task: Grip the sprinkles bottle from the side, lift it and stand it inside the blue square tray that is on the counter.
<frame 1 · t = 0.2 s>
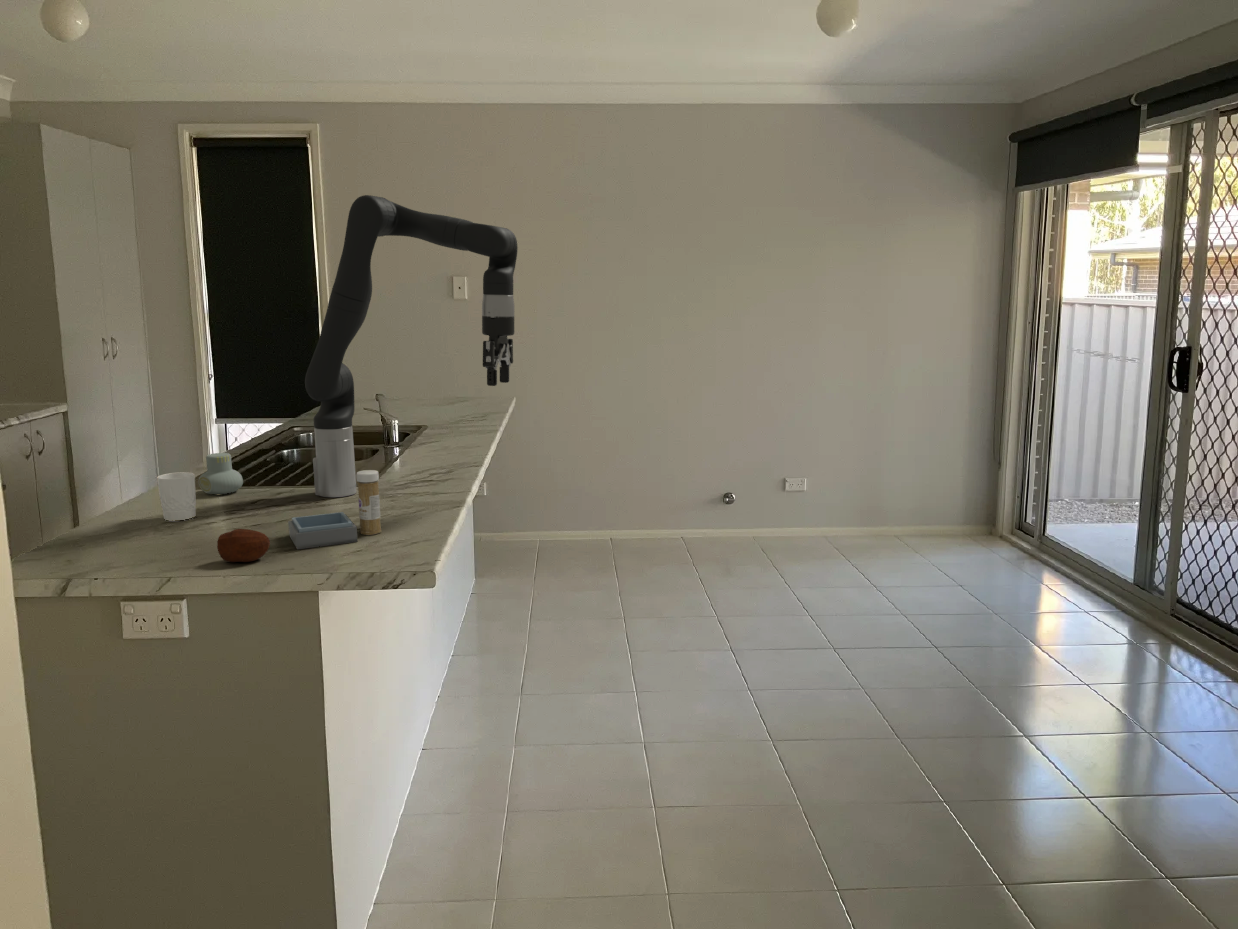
hand: (498, 384, 228), 29 cm above the counter, tool pointing down, fingers open, 8 cm apart
air freshener: (221, 493, 248), on the counter
sprinkles bottle: (371, 533, 207), on the counter
blue square tray: (322, 538, 203), on the counter
white cup: (180, 519, 222), on the counter
potato: (245, 561, 188), on the counter
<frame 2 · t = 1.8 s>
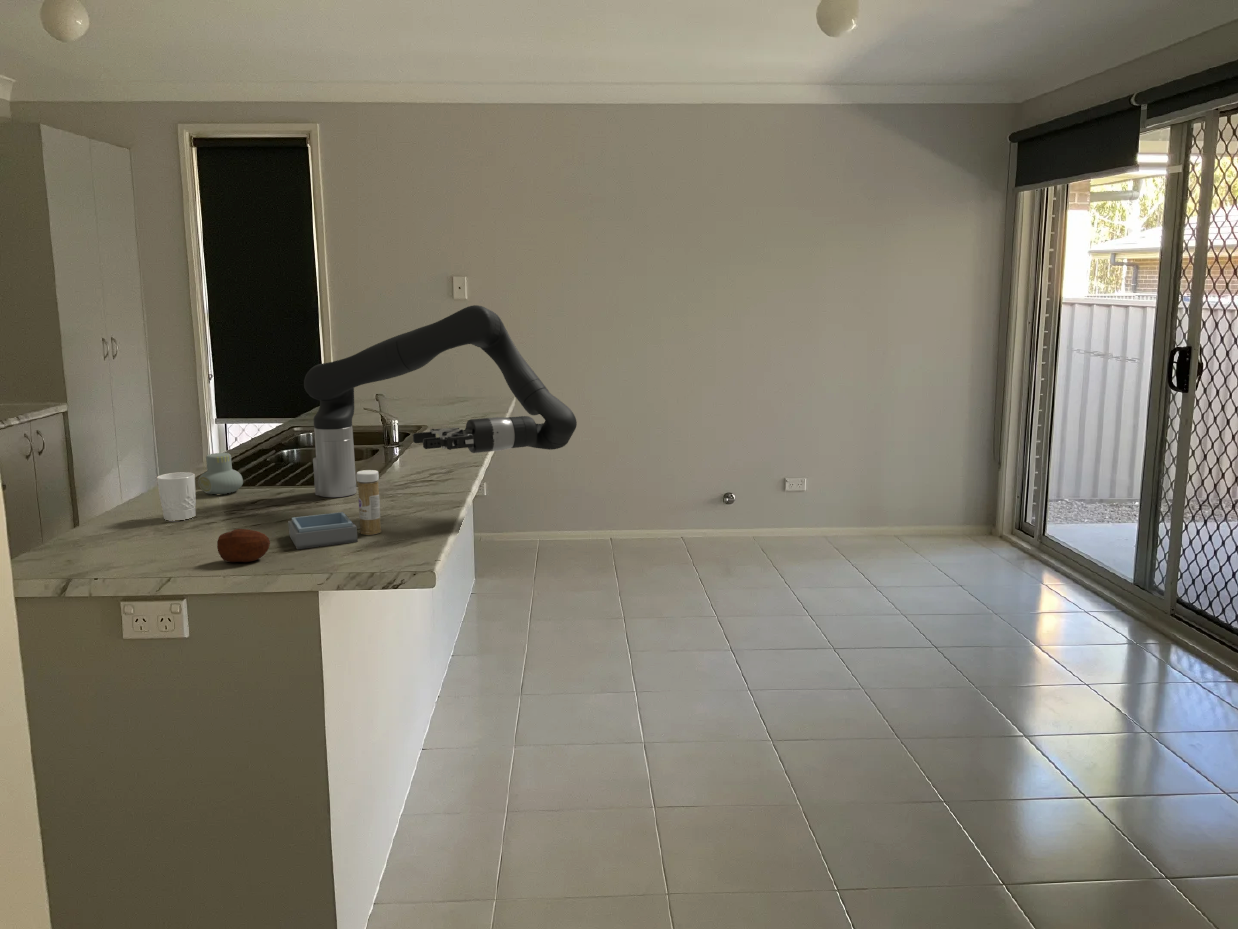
hand: (418, 441, 208), 19 cm above the counter, tool horizontal, fingers open, 8 cm apart
nothing on the counter moved.
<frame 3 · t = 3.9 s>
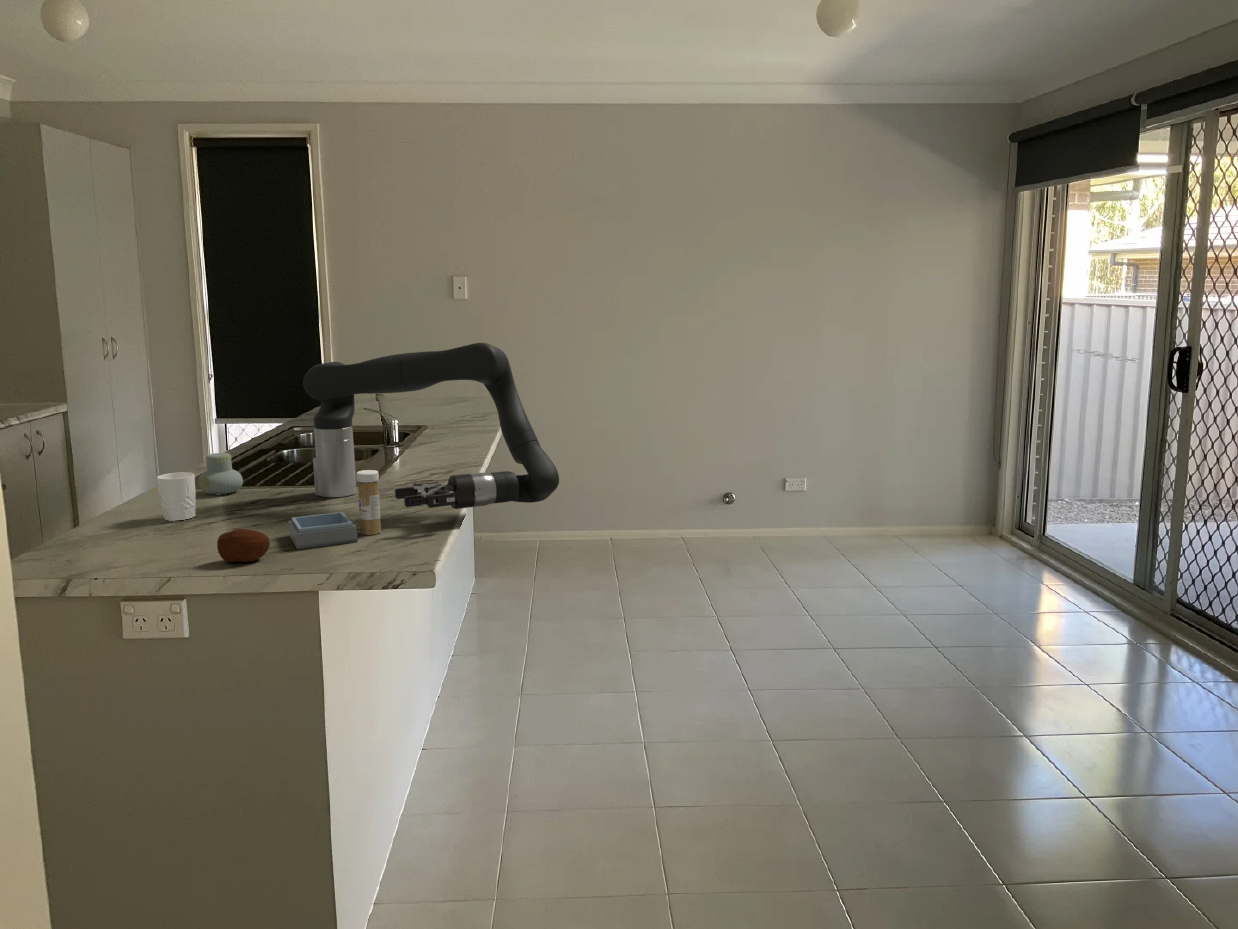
hand: (399, 497, 209), 7 cm above the counter, tool horizontal, fingers open, 8 cm apart
nothing on the counter moved.
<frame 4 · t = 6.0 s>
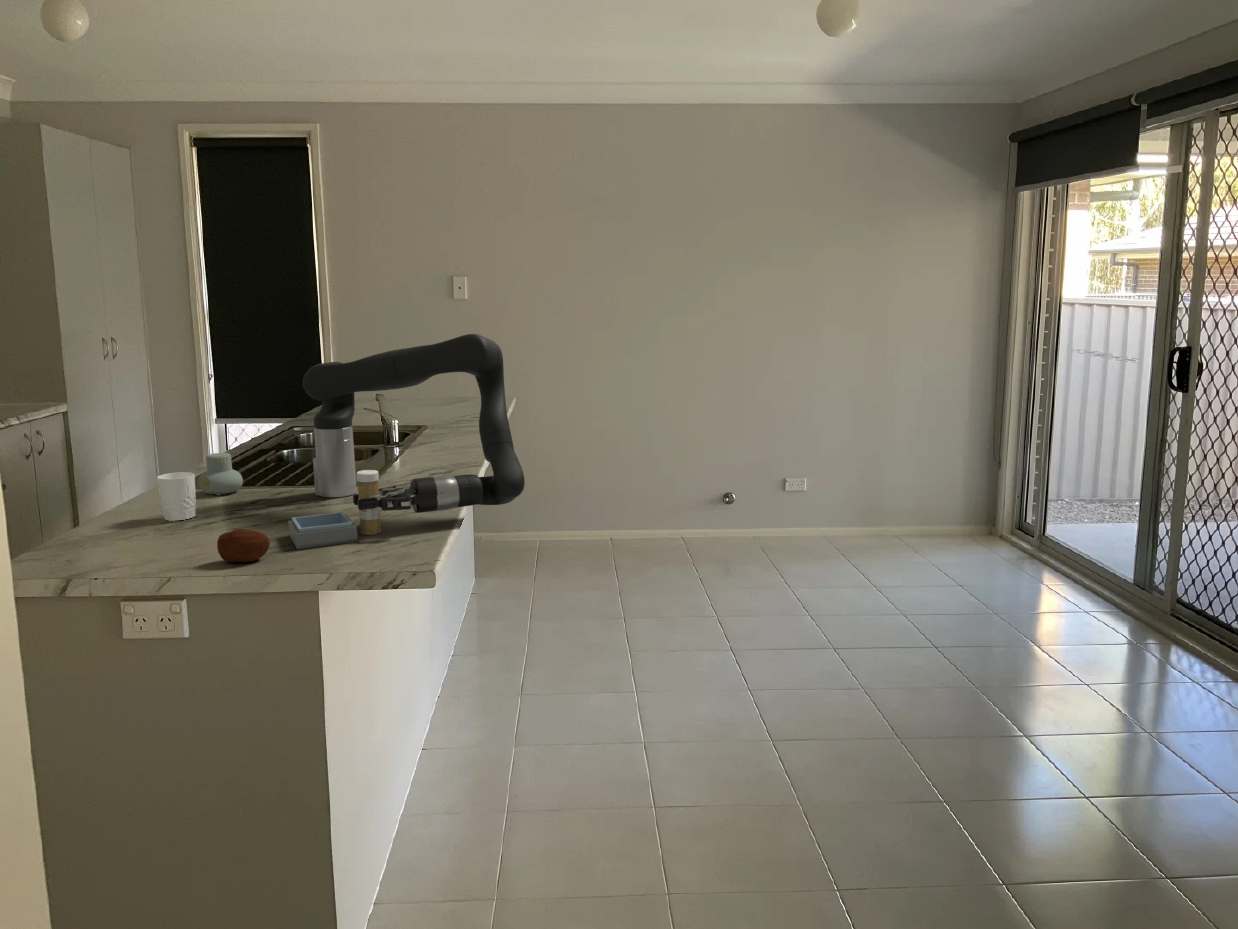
hand: (356, 502, 205), 7 cm above the counter, tool horizontal, fingers closed on sprinkles bottle, 4 cm apart
sprinkles bottle: (371, 533, 207), on the counter, touching gripper
everything else where it was.
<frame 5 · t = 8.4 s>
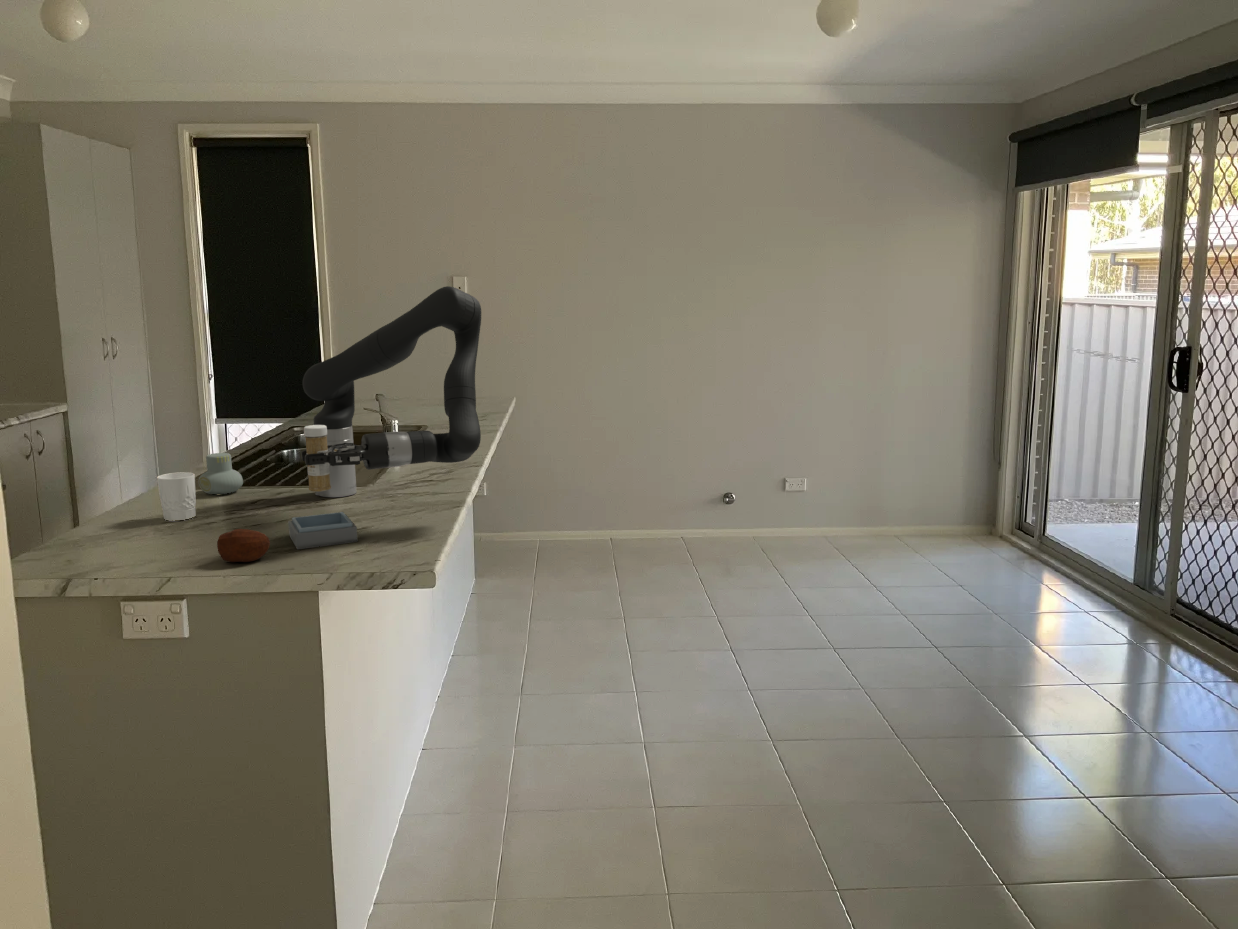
hand: (304, 458, 198), 17 cm above the counter, tool horizontal, fingers closed on sprinkles bottle, 4 cm apart
sprinkles bottle: (320, 490, 201), point 10 cm above the counter, touching gripper
everything else where it was.
when the fingers open (10 cm above the counter, at t = 10.5 s): sprinkles bottle drops 1 cm, resting on blue square tray.
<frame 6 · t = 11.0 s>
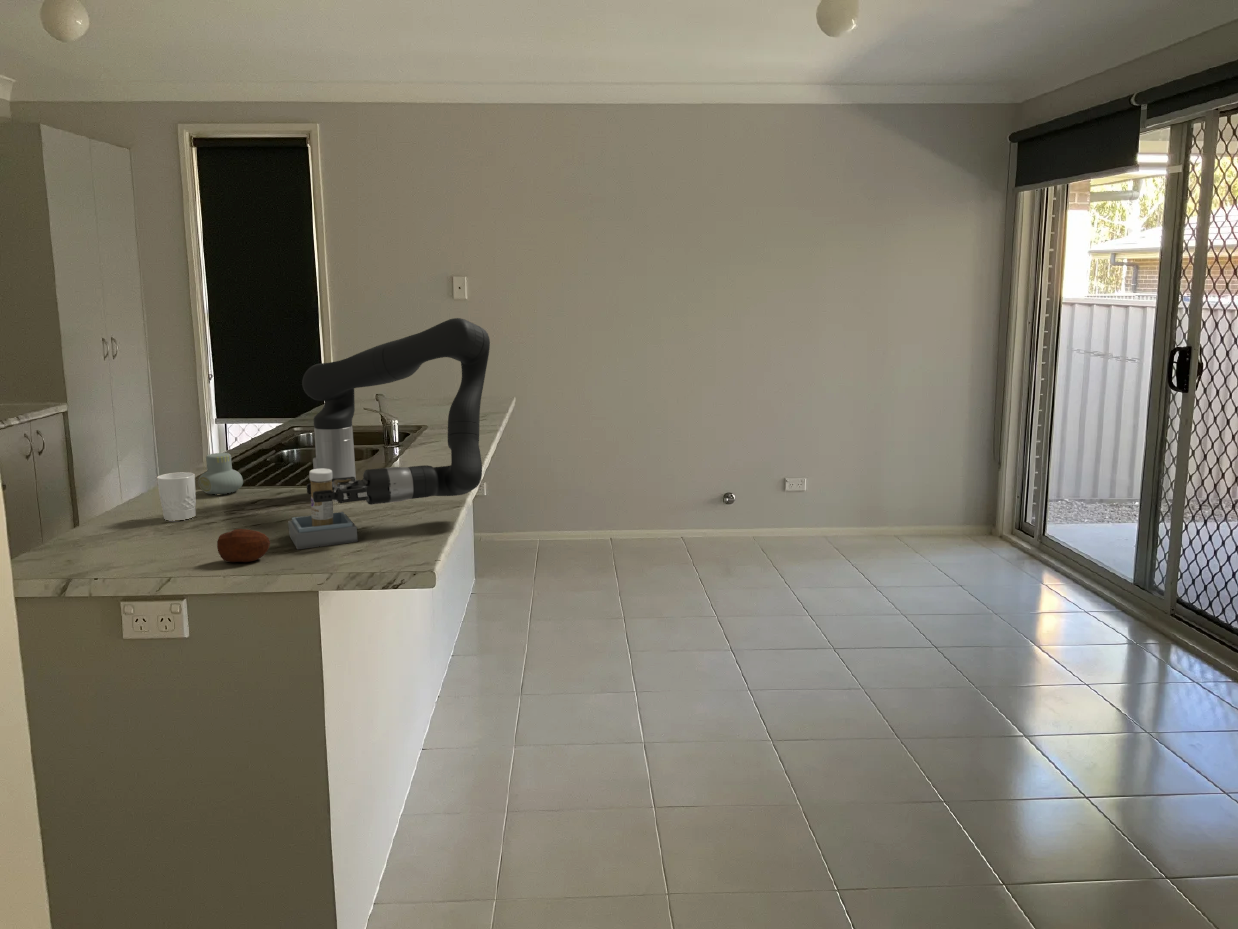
hand: (310, 493, 200), 10 cm above the counter, tool horizontal, fingers open, 8 cm apart
sprinkles bottle: (323, 533, 203), point 1 cm above the counter, touching blue square tray
everything else where it was.
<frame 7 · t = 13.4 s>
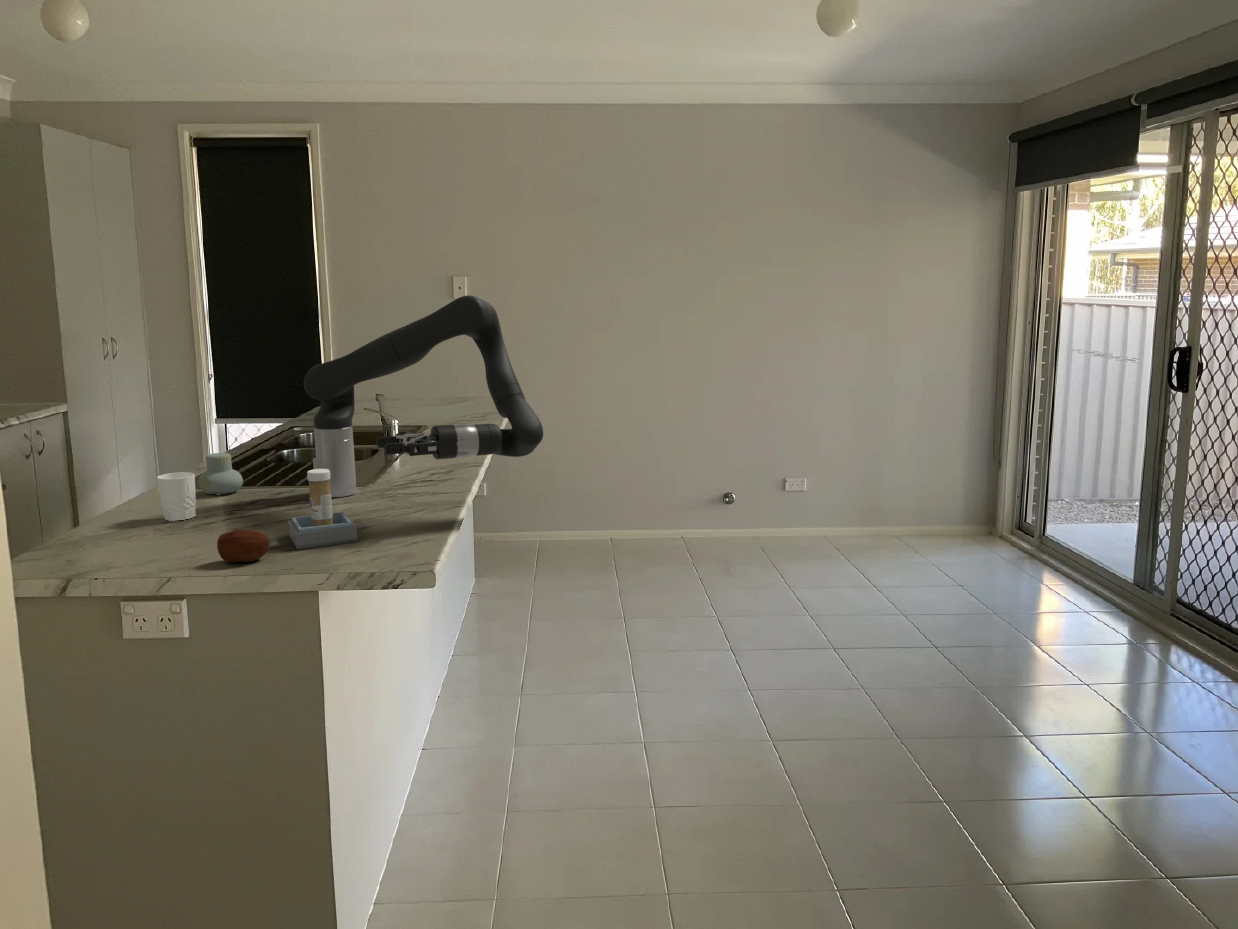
hand: (381, 445, 207), 18 cm above the counter, tool horizontal, fingers open, 8 cm apart
nothing on the counter moved.
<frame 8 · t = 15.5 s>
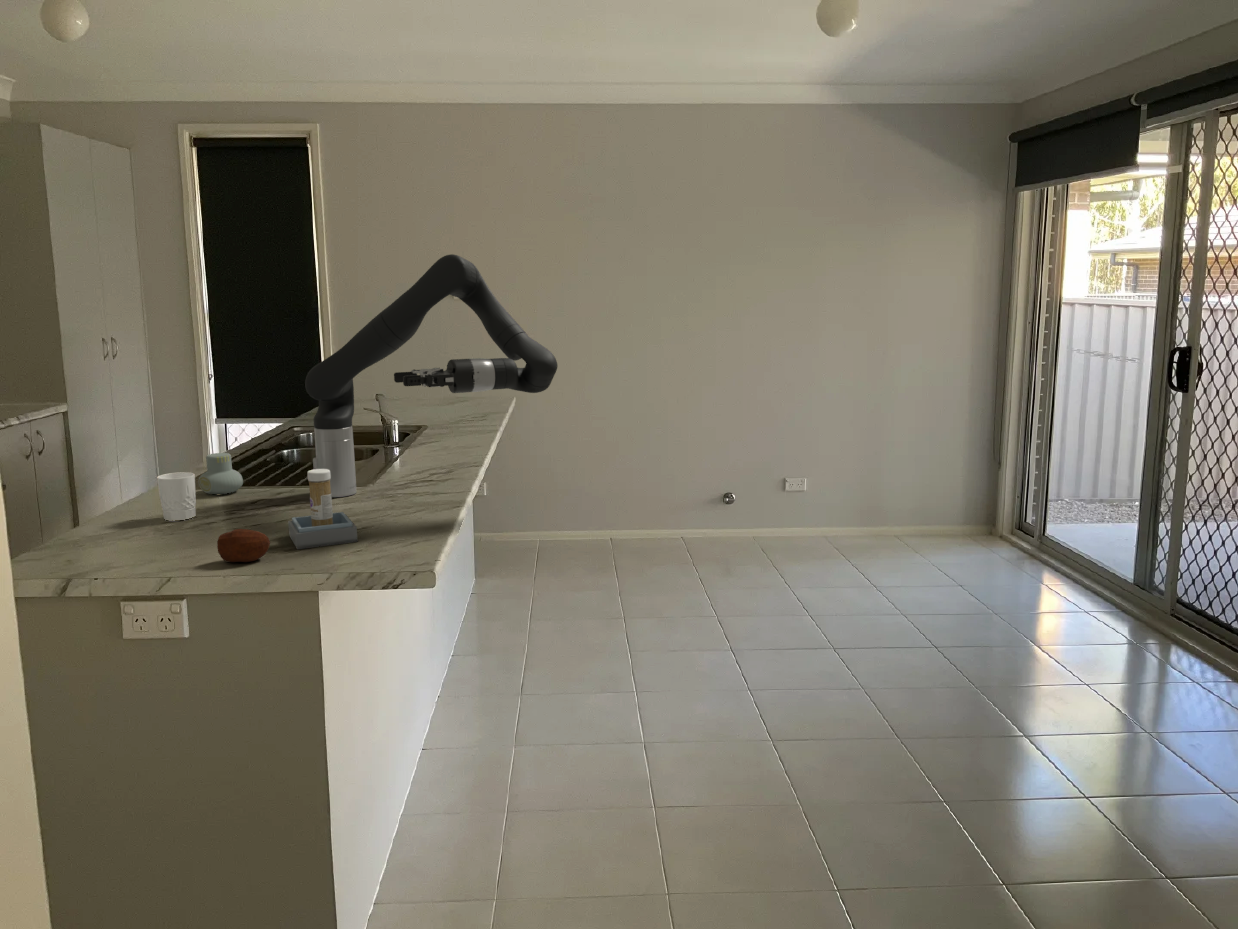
hand: (398, 379, 209), 32 cm above the counter, tool horizontal, fingers open, 8 cm apart
nothing on the counter moved.
at the end: sprinkles bottle 0.1 cm from the blue square tray (horizontally); sprinkles bottle tilted 0°; the gripper is holding nothing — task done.
